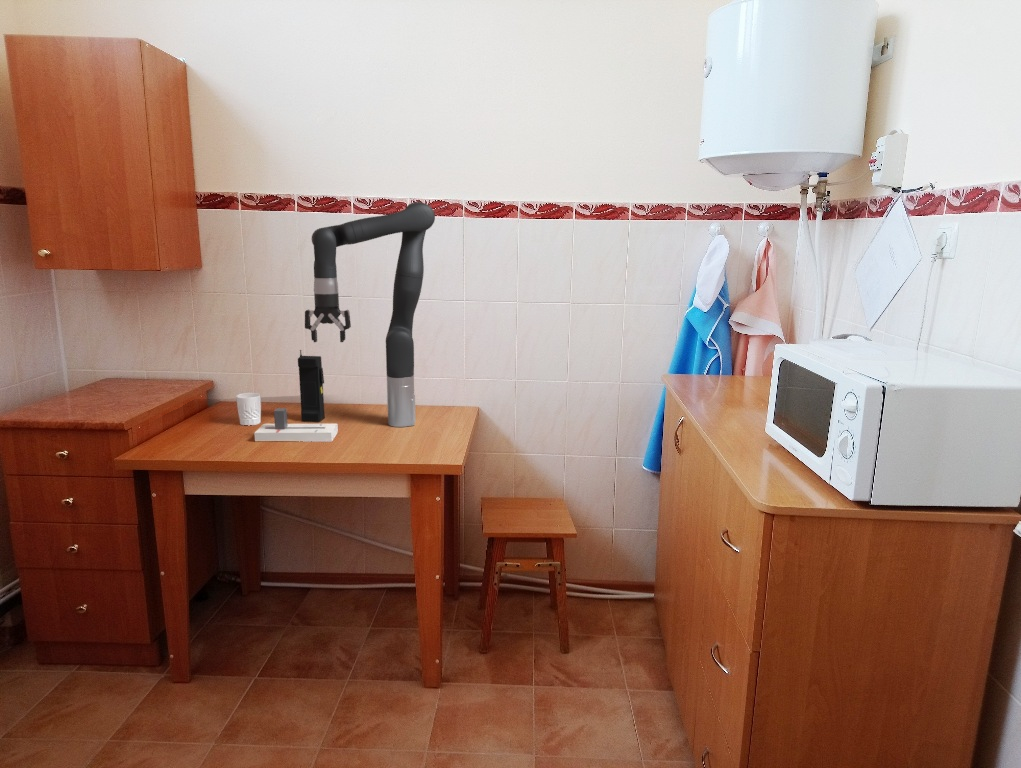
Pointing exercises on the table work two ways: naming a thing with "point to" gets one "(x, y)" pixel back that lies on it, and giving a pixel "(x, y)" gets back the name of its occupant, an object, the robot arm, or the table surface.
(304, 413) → the portable radio
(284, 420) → the fader tab
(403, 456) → the table surface
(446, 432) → the table surface
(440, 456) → the table surface
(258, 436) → the panel
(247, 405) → the white cup
